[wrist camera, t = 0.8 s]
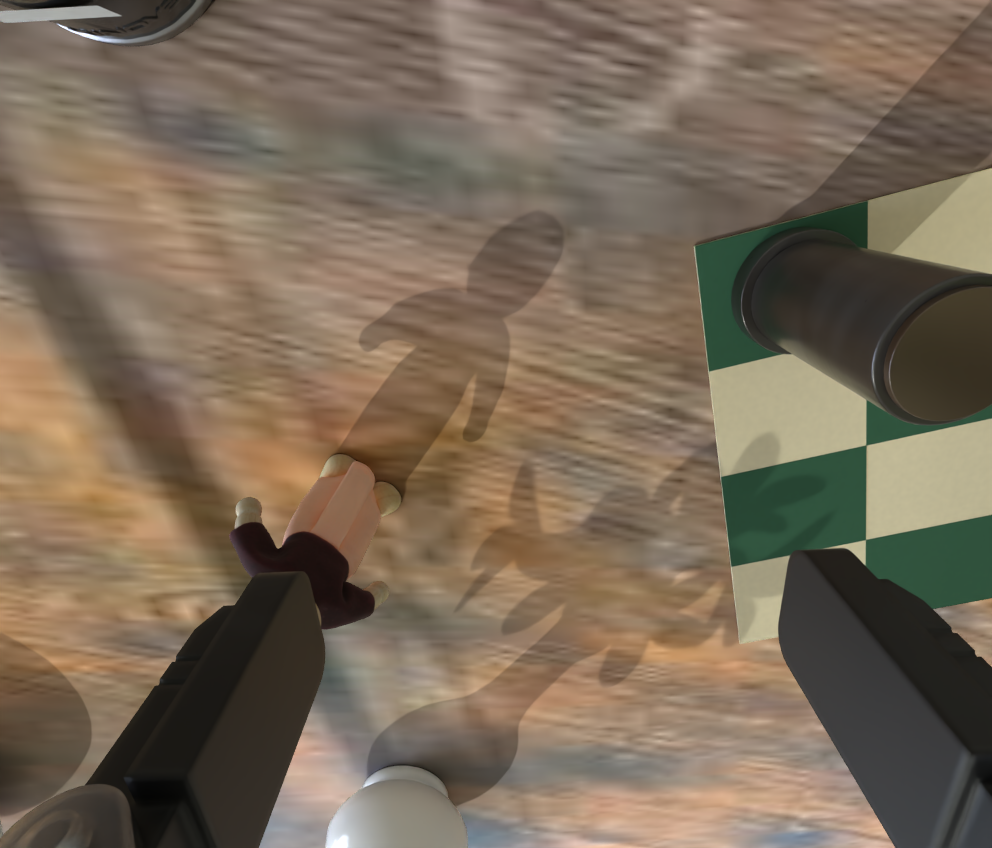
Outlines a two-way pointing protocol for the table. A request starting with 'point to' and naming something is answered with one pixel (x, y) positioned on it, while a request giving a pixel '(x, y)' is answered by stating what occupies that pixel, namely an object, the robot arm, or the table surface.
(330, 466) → the grandmother figurine
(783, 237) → the dark grey cylinder
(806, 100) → the table surface
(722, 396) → the chess mat
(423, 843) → the flower vase
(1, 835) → the cereal bowl
